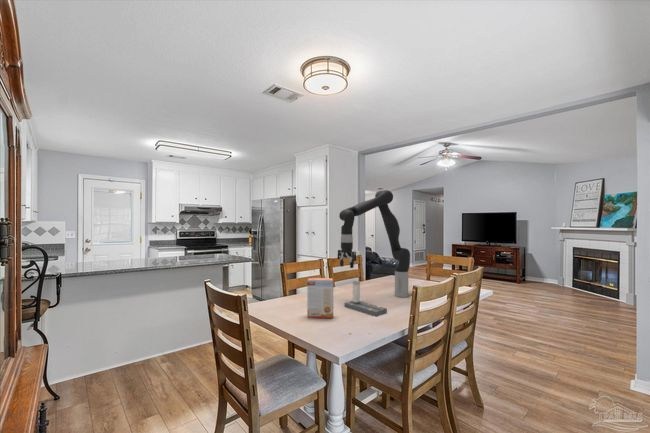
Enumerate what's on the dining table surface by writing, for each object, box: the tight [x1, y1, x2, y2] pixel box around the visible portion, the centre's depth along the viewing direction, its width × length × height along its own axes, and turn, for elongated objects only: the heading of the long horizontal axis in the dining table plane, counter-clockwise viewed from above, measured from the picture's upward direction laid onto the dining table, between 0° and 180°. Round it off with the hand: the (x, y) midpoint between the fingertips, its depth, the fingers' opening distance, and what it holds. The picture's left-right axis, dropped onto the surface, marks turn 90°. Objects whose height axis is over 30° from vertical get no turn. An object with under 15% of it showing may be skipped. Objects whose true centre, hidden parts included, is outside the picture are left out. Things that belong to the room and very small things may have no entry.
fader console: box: [344, 300, 388, 317], centre depth 186 cm, size 24×10×3 cm, turn 42°
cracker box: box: [306, 277, 334, 319], centre depth 173 cm, size 14×6×21 cm, turn 84°
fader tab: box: [351, 280, 362, 304], centre depth 191 cm, size 4×4×13 cm
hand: (346, 267), depth 198 cm, fingers open, 8 cm apart
